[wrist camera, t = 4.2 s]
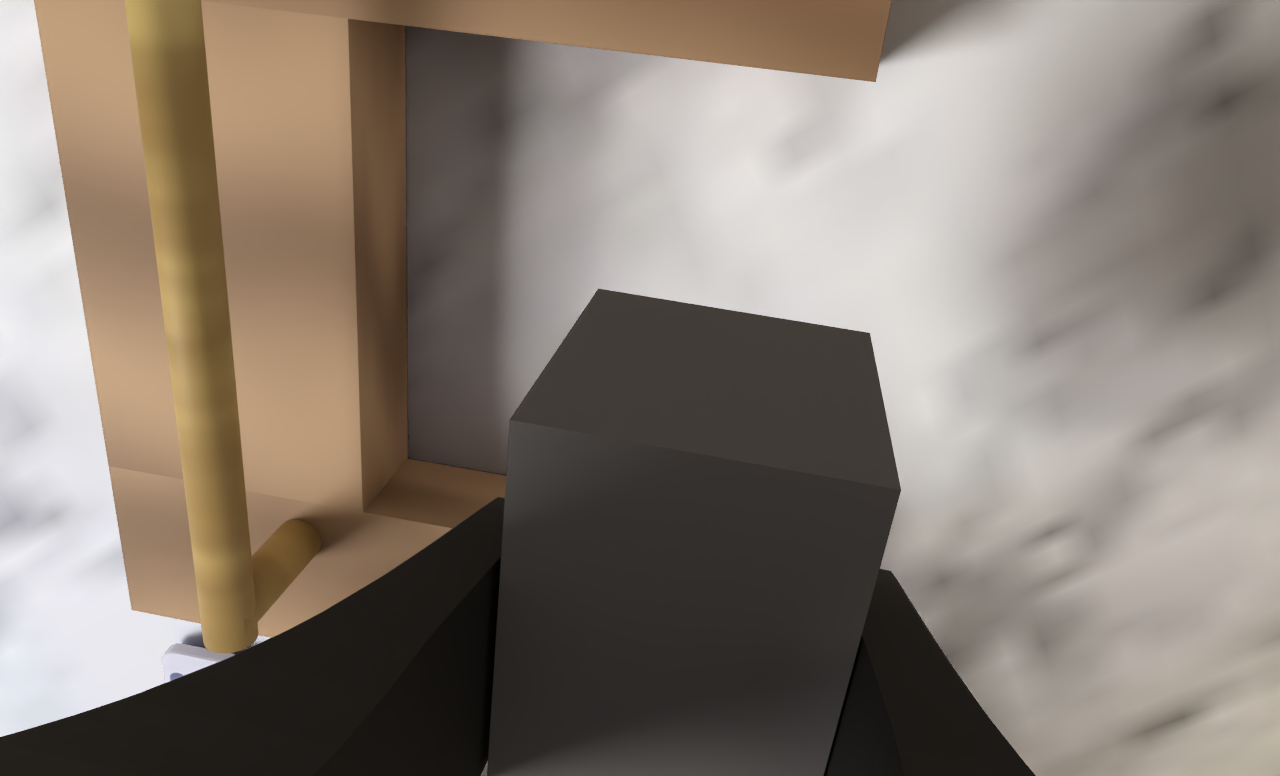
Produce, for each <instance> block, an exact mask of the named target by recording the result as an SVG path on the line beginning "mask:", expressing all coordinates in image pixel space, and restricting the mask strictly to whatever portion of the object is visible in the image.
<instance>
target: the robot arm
mask: <svg viewBox="0 0 1280 776" xmlns="http://www.w3.org/2000/svg"><path fill="white" fill-rule="evenodd" d="M504 503H505V498H502V497H497V498H496V499H494V500H493V501H491V502H490V503H488V504H487V505H485V506H484V507H482V508H481V509H479V510H478V511H476V512H475V513H473V514H472V515H471V516H469V517H468V518H466V519H465V520H463V521H462V522H461V523H459V524H458V525H456V526H455V527H454V528H452V529H451V530H449V531H448V532H447V533H445V534H444V535H442V536H441V537H439V538H438V539H437V540H435V541H434V542H432V543H431V544H429V545H428V546H427V547H425V548H424V549H422V550H421V551H419V552H418V553H416V554H415V555H413V556H412V557H410V558H409V559H407V560H406V561H404V562H403V563H401V564H400V565H398V566H397V567H395V568H394V569H392V570H391V571H389V572H388V573H386V574H385V575H383V576H382V577H380V578H378V579H377V580H375V581H373V582H372V583H370V584H368V585H367V586H365V587H363V588H362V589H360V590H358V591H357V592H355V593H353V594H352V595H350V596H348V597H347V598H345V599H343V600H342V601H340V602H338V603H336V604H335V605H333V606H331V607H330V608H328V609H326V610H325V611H323V612H321V613H319V614H317V615H315V616H314V617H312V618H310V619H308V620H306V621H304V622H302V623H300V624H298V625H296V626H295V627H293V628H291V629H289V630H287V631H285V632H283V633H281V634H279V635H276V636H274V637H272V638H270V639H268V640H266V641H264V642H262V643H260V644H257V645H255V646H253V647H251V648H249V649H247V650H245V651H243V652H241V653H238V654H231V653H227V654H220V653H215V652H212V651H210V650H208V649H206V648H201V647H196V646H191V645H186V644H174V645H172V646H171V647H170V648H169V649H168V650H167V651H166V652H165V653H164V654H163V656H162V661H161V662H162V669H163V676H164V682H165V683H164V684H162V685H159V686H157V687H154V688H152V689H149V690H147V691H144V692H141V693H139V694H136V695H133V696H130V697H128V698H125V699H122V700H119V701H116V702H113V703H110V704H107V705H104V706H101V707H98V708H95V709H92V710H89V711H86V712H83V713H80V714H77V715H74V716H70V717H67V718H64V719H60V720H57V721H54V722H51V723H47V724H44V725H41V726H37V727H34V728H31V729H28V730H24V731H21V732H17V733H14V734H10V735H6V736H3V737H0V776H480V775H481V773H482V771H483V769H484V767H485V765H486V763H487V761H488V754H489V739H490V723H491V707H492V692H493V676H494V660H495V644H496V629H497V613H498V597H499V582H500V566H501V550H502V535H503V519H504ZM823 776H1035V774H1034V773H1033V772H1032V771H1031V770H1030V769H1029V767H1028V766H1027V765H1026V764H1025V763H1024V761H1023V760H1022V759H1021V758H1020V756H1019V755H1018V754H1017V753H1016V751H1015V750H1014V749H1013V747H1012V746H1011V745H1010V744H1009V742H1008V741H1007V740H1006V739H1005V737H1004V736H1003V735H1002V734H1001V732H1000V731H999V730H998V729H997V727H996V726H995V725H994V724H993V722H992V721H991V720H990V719H989V717H988V716H987V714H986V713H985V712H984V710H983V709H982V708H981V706H980V705H979V704H978V702H977V701H976V699H975V698H974V696H973V695H972V694H971V692H970V691H969V689H968V688H967V686H966V685H965V684H964V682H963V681H962V679H961V678H960V676H959V675H958V674H957V672H956V671H955V669H954V668H953V667H952V665H951V664H950V662H949V661H948V659H947V658H946V656H945V655H944V653H943V652H942V650H941V649H940V647H939V645H938V644H937V642H936V641H935V639H934V638H933V636H932V635H931V633H930V631H929V630H928V628H927V627H926V625H925V624H924V622H923V621H922V619H921V617H920V616H919V614H918V613H917V611H916V609H915V608H914V606H913V605H912V603H911V601H910V600H909V598H908V597H907V595H906V593H905V592H904V590H903V589H902V587H901V585H900V584H899V582H898V581H897V579H896V578H895V576H894V575H893V573H892V572H891V571H888V570H882V569H879V572H878V576H877V580H876V584H875V587H874V591H873V595H872V598H871V602H870V606H869V609H868V613H867V617H866V620H865V624H864V628H863V632H862V635H861V639H860V643H859V646H858V650H857V654H856V657H855V661H854V665H853V668H852V672H851V676H850V680H849V683H848V687H847V691H846V694H845V698H844V702H843V705H842V709H841V713H840V716H839V720H838V724H837V727H836V731H835V735H834V739H833V742H832V746H831V750H830V753H829V757H828V761H827V764H826V768H825V772H824V775H823Z"/></svg>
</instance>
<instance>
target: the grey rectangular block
mask: <svg viewBox="0 0 1280 776" xmlns="http://www.w3.org/2000/svg"><path fill="white" fill-rule="evenodd" d="M900 491H901V488H900V483H899V478H898V473H897V468H896V463H895V458H894V453H893V448H892V443H891V438H890V433H889V428H888V423H887V418H886V413H885V408H884V403H883V398H882V393H881V388H880V382H879V377H878V372H877V367H876V362H875V357H874V352H873V347H872V342H871V337H870V333H866V332H860V331H854V330H847V329H841V328H835V327H829V326H823V325H817V324H811V323H805V322H798V321H792V320H786V319H780V318H774V317H768V316H762V315H756V314H749V313H743V312H737V311H731V310H725V309H719V308H713V307H707V306H700V305H694V304H688V303H682V302H676V301H670V300H664V299H658V298H651V297H645V296H639V295H633V294H627V293H621V292H615V291H609V290H602V289H598V290H597V292H596V293H595V295H594V296H593V298H592V299H591V301H590V302H589V304H588V305H587V307H586V308H585V309H584V311H583V312H582V314H581V315H580V317H579V318H578V320H577V321H576V323H575V324H574V326H573V327H572V329H571V330H570V332H569V333H568V335H567V336H566V338H565V339H564V341H563V342H562V343H561V345H560V346H559V348H558V349H557V351H556V352H555V354H554V355H553V357H552V358H551V360H550V361H549V363H548V364H547V366H546V367H545V369H544V370H543V372H542V373H541V375H540V376H539V377H538V379H537V380H536V382H535V383H534V385H533V386H532V388H531V389H530V391H529V392H528V394H527V395H526V397H525V398H524V400H523V401H522V403H521V404H520V406H519V407H518V408H517V410H516V411H515V413H514V414H513V416H512V417H511V419H510V425H509V441H508V456H507V472H506V488H505V503H504V519H503V535H502V550H501V566H500V582H499V597H498V613H497V629H496V644H495V660H494V676H493V692H492V707H491V723H490V739H489V754H488V770H487V776H823V775H824V772H825V768H826V764H827V761H828V757H829V753H830V750H831V746H832V742H833V739H834V735H835V731H836V727H837V724H838V720H839V716H840V713H841V709H842V705H843V702H844V698H845V694H846V691H847V687H848V683H849V680H850V676H851V672H852V668H853V665H854V661H855V657H856V654H857V650H858V646H859V643H860V639H861V635H862V632H863V628H864V624H865V620H866V617H867V613H868V609H869V606H870V602H871V598H872V595H873V591H874V587H875V584H876V580H877V576H878V572H879V569H880V565H881V561H882V558H883V554H884V550H885V547H886V543H887V539H888V536H889V532H890V528H891V525H892V521H893V517H894V513H895V510H896V506H897V502H898V499H899V495H900Z"/></svg>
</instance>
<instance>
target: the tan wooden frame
mask: <svg viewBox="0 0 1280 776" xmlns="http://www.w3.org/2000/svg"><path fill="white" fill-rule="evenodd" d="M891 1H892V0H34V3H35V9H36V16H37V22H38V28H39V34H40V40H41V47H42V53H43V59H44V65H45V72H46V78H47V84H48V90H49V97H50V103H51V109H52V115H53V122H54V128H55V134H56V140H57V146H58V153H59V159H60V165H61V171H62V178H63V184H64V190H65V196H66V203H67V209H68V215H69V221H70V228H71V234H72V240H73V246H74V252H75V259H76V265H77V271H78V277H79V284H80V290H81V296H82V302H83V309H84V315H85V321H86V327H87V333H88V340H89V346H90V352H91V358H92V365H93V371H94V377H95V383H96V390H97V396H98V402H99V408H100V415H101V421H102V427H103V433H104V439H105V446H106V452H107V458H108V464H109V471H110V477H111V483H112V489H113V496H114V502H115V508H116V514H117V521H118V527H119V533H120V539H121V545H122V552H123V558H124V564H125V570H126V577H127V583H128V589H129V595H130V602H131V608H132V610H135V611H140V612H145V613H150V614H155V615H160V616H166V617H171V618H176V619H181V620H186V621H191V622H196V623H201V627H202V635H203V643H204V646H205V647H206V648H207V649H208V650H210V651H212V652H215V653H220V654H227V653H234V652H238V651H241V650H243V649H245V648H247V647H249V646H250V645H251V644H252V643H253V642H254V641H255V640H256V639H257V637H258V635H261V636H266V637H271V638H272V637H274V636H276V635H279V634H281V633H283V632H285V631H287V630H289V629H291V628H293V627H295V626H296V625H298V624H300V623H302V622H304V621H306V620H308V619H310V618H312V617H314V616H315V615H317V614H319V613H321V612H323V611H325V610H326V609H328V608H330V607H331V606H333V605H335V604H336V603H338V602H340V601H342V600H343V599H345V598H347V597H348V596H350V595H352V594H353V593H355V592H357V591H358V590H360V589H362V588H363V587H365V586H367V585H368V584H370V583H372V582H373V581H375V580H377V579H378V578H380V577H382V576H383V575H385V574H386V573H388V572H389V571H391V570H392V569H394V568H395V567H397V566H398V565H400V564H401V563H403V562H404V561H406V560H407V559H409V558H410V557H412V556H413V555H415V554H416V553H418V552H419V551H421V550H422V549H424V548H425V547H427V546H428V545H429V544H431V543H432V542H434V541H435V540H437V539H438V538H439V537H441V536H442V535H444V534H445V533H447V532H448V531H449V530H451V529H452V528H454V527H455V526H456V525H458V524H459V523H461V522H462V521H463V520H465V519H466V518H468V517H469V516H471V515H472V514H473V513H475V512H476V511H478V510H479V509H481V508H482V507H484V506H485V505H487V504H488V503H490V502H491V501H493V500H494V499H496V498H497V497H502V498H505V488H506V476H505V475H499V474H494V473H488V472H482V471H476V470H471V469H465V468H459V467H453V466H448V465H442V464H436V463H430V462H424V461H419V460H413V459H408V412H407V241H406V70H405V26H413V27H422V28H430V29H438V30H447V31H455V32H463V33H472V34H480V35H488V36H497V37H505V38H513V39H522V40H530V41H538V42H547V43H555V44H563V45H572V46H580V47H588V48H597V49H605V50H613V51H622V52H630V53H638V54H647V55H655V56H663V57H672V58H680V59H689V60H697V61H705V62H714V63H722V64H730V65H739V66H747V67H755V68H764V69H772V70H780V71H789V72H797V73H805V74H814V75H822V76H830V77H839V78H847V79H855V80H864V81H872V82H876V77H877V72H878V67H879V62H880V57H881V52H882V47H883V42H884V37H885V32H886V26H887V21H888V16H889V11H890V6H891Z"/></svg>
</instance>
